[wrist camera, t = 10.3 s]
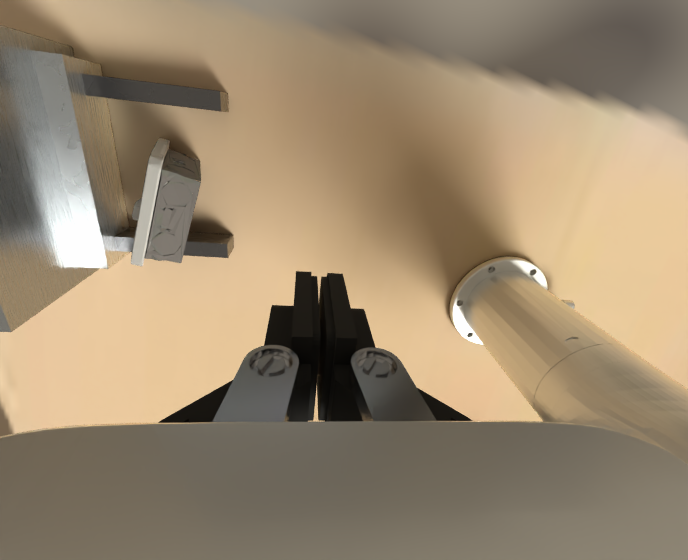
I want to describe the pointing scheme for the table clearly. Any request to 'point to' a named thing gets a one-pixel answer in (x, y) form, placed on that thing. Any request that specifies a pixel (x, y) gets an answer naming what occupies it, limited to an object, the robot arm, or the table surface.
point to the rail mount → (67, 172)
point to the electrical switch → (165, 205)
